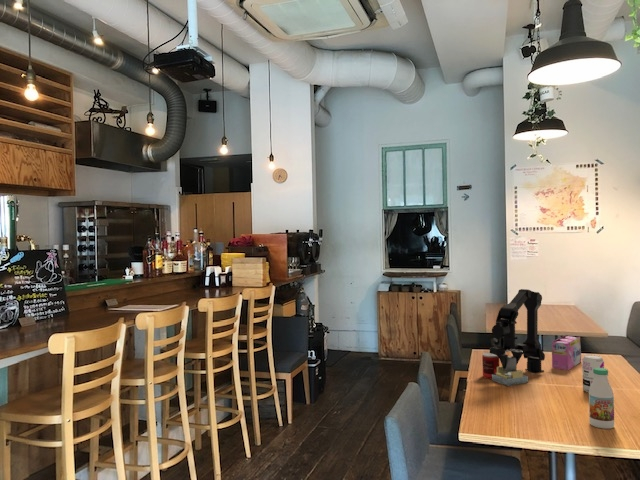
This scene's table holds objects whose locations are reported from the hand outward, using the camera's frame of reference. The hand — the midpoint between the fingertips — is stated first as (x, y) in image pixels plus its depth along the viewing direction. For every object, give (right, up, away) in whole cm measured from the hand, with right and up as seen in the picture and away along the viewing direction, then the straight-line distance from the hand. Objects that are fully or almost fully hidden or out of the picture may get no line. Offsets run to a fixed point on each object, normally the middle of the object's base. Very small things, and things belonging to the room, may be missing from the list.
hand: (509, 367), depth 233 cm
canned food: (-6, -7, +8) cm, 12 cm away
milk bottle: (+11, -6, -56) cm, 58 cm away
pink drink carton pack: (+41, -6, +28) cm, 50 cm away
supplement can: (+30, -6, -18) cm, 35 cm away
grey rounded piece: (0, -1, 0) cm, 1 cm away
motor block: (0, -6, 0) cm, 6 cm away
